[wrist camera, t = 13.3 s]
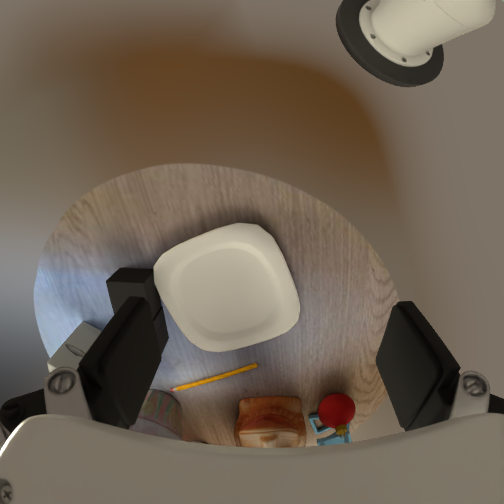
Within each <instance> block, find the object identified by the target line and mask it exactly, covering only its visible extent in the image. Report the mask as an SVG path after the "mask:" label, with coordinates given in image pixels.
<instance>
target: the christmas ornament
mask: <svg viewBox="0 0 504 504" xmlns="http://www.w3.org/2000/svg"><path fill="white" fill-rule="evenodd" d="M354 414H355V404H354V402H353V400H352V399H351V398H350V397H349V396H348V395H346V394H342V393H334V394H331V395H329V396H327V397H326V398H324V399H323V400H322V402H321V403H320V405H319V408H318V417H319V419H320V421H321V422H322V423H323V424H324V425H325V426H327V427H329V428H335V429H336V434H338V435H340V438H342V437H341V435H342V434H344V436H343V438H344V437H345V433H346V432H347V427H346V425H347V424H348V423H349V422H350V421H351V420H352V419H353V417H354Z"/></svg>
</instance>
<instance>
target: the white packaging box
mask: <svg viewBox="0 0 504 504" xmlns="http://www.w3.org/2000/svg"><path fill="white" fill-rule="evenodd" d="M101 332H102V331H101V330H99V329H97V328H95V327H93V326H91V325H89V324H88V323H86V322H84V321H83V322H82V323H81V324H80V325H79V326H78V327H77V328H76V329H75V330H74V332H73V333H72V334H71V335H70V336H69V337H68V339H67V340H66V341H65V342H64V343H63V344H62V345H61V347H60V348H59V349H58V350H57V351H56V353H55V354H54V355H53V356H52V357H51V359H50V360H49V361H48V362H47V364H48V368H49V373H50V372H51V371H53V370H54V369H57V368H59V367H71V368H73V369H75V370H77V368H78V367H79V365H78V364H79V362H80V361H81V359H82V358H83V357H84V355H85V354H86V352H87V351H88V350H89V348H90V347H91V345H92V344H93V343H94V341H95V340H96V339H97V337H98V336H99V335H100V333H101Z"/></svg>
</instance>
